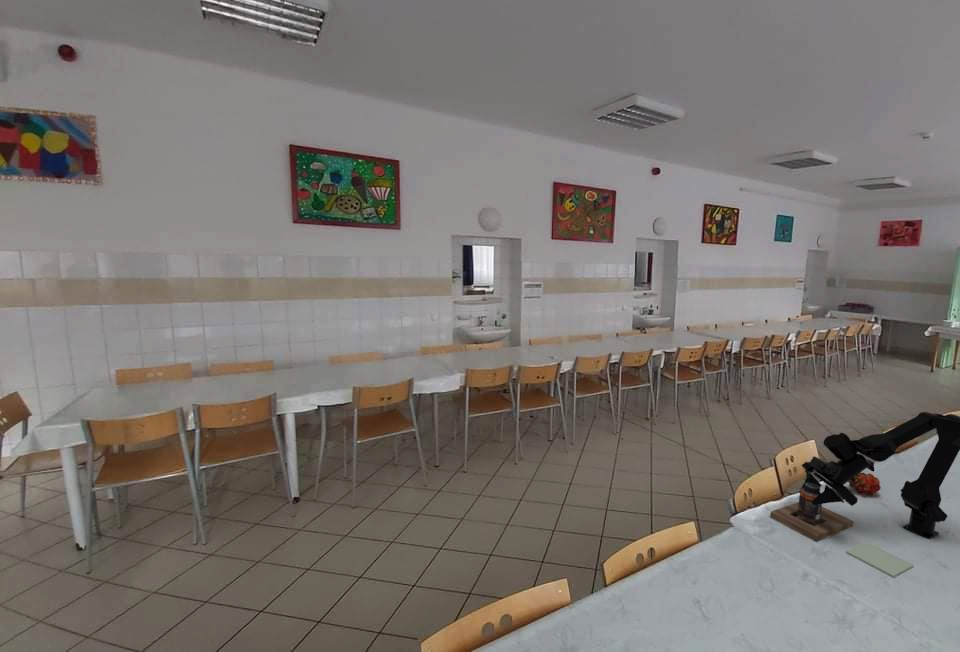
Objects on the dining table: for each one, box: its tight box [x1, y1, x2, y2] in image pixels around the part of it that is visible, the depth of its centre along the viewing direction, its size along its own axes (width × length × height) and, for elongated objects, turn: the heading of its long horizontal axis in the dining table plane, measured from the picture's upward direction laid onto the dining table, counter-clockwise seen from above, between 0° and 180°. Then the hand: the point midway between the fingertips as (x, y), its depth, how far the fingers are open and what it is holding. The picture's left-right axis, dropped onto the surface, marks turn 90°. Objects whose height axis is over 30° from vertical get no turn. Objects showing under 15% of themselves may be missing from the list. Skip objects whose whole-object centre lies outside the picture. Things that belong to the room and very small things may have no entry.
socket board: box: [769, 501, 854, 543], centre depth 142 cm, size 20×14×2 cm
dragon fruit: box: [847, 472, 882, 497], centre depth 160 cm, size 8×8×12 cm
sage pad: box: [845, 541, 915, 578], centre depth 124 cm, size 11×11×1 cm
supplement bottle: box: [798, 483, 823, 523], centre depth 140 cm, size 6×6×11 cm
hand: (806, 498), depth 140 cm, fingers closed on supplement bottle, 6 cm apart
